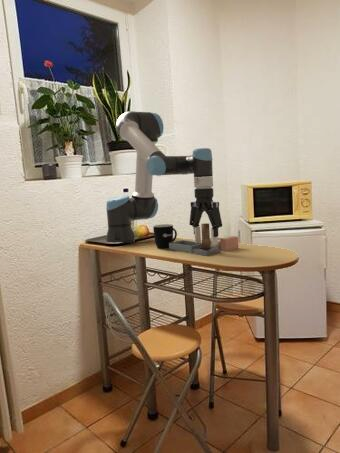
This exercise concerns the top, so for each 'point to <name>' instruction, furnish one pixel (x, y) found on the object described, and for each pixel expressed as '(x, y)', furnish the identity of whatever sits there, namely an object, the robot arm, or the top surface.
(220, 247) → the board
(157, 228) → the mug
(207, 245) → the dowel
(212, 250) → the socket
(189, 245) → the tray
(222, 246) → the block
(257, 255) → the top surface
